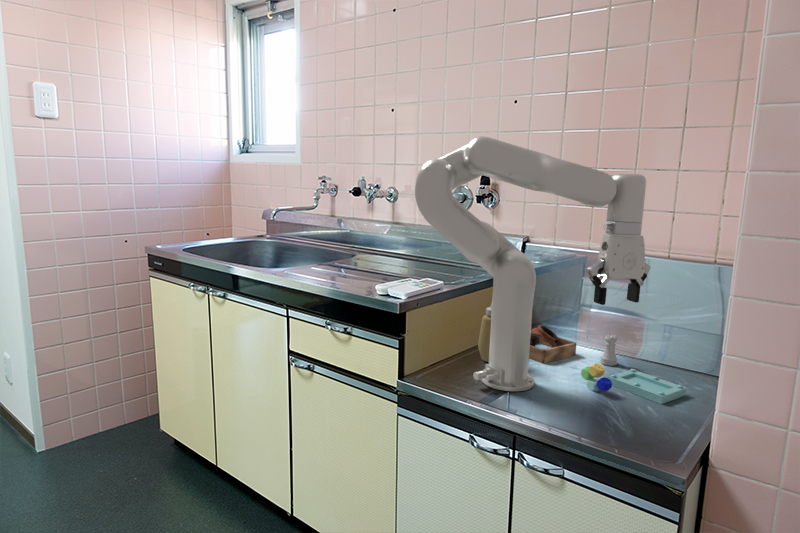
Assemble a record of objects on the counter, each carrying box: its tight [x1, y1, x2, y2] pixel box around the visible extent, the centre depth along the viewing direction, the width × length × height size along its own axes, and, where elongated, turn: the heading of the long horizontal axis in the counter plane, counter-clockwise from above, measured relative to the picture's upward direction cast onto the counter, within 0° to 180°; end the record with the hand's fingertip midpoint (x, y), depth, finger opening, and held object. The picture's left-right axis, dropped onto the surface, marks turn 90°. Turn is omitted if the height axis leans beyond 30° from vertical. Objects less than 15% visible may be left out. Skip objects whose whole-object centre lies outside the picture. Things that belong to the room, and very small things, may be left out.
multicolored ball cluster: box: [580, 363, 613, 392], centre depth 127 cm, size 8×3×6 cm, turn 25°
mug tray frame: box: [529, 336, 577, 364], centre depth 155 cm, size 14×16×4 cm
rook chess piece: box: [599, 333, 618, 367], centre depth 146 cm, size 4×4×8 cm
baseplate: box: [607, 368, 687, 405], centre depth 129 cm, size 10×14×2 cm
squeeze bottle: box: [477, 302, 492, 363], centre depth 145 cm, size 8×8×18 cm
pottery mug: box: [530, 324, 559, 348], centre depth 155 cm, size 12×10×8 cm
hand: (616, 302), depth 125 cm, fingers open, 9 cm apart
